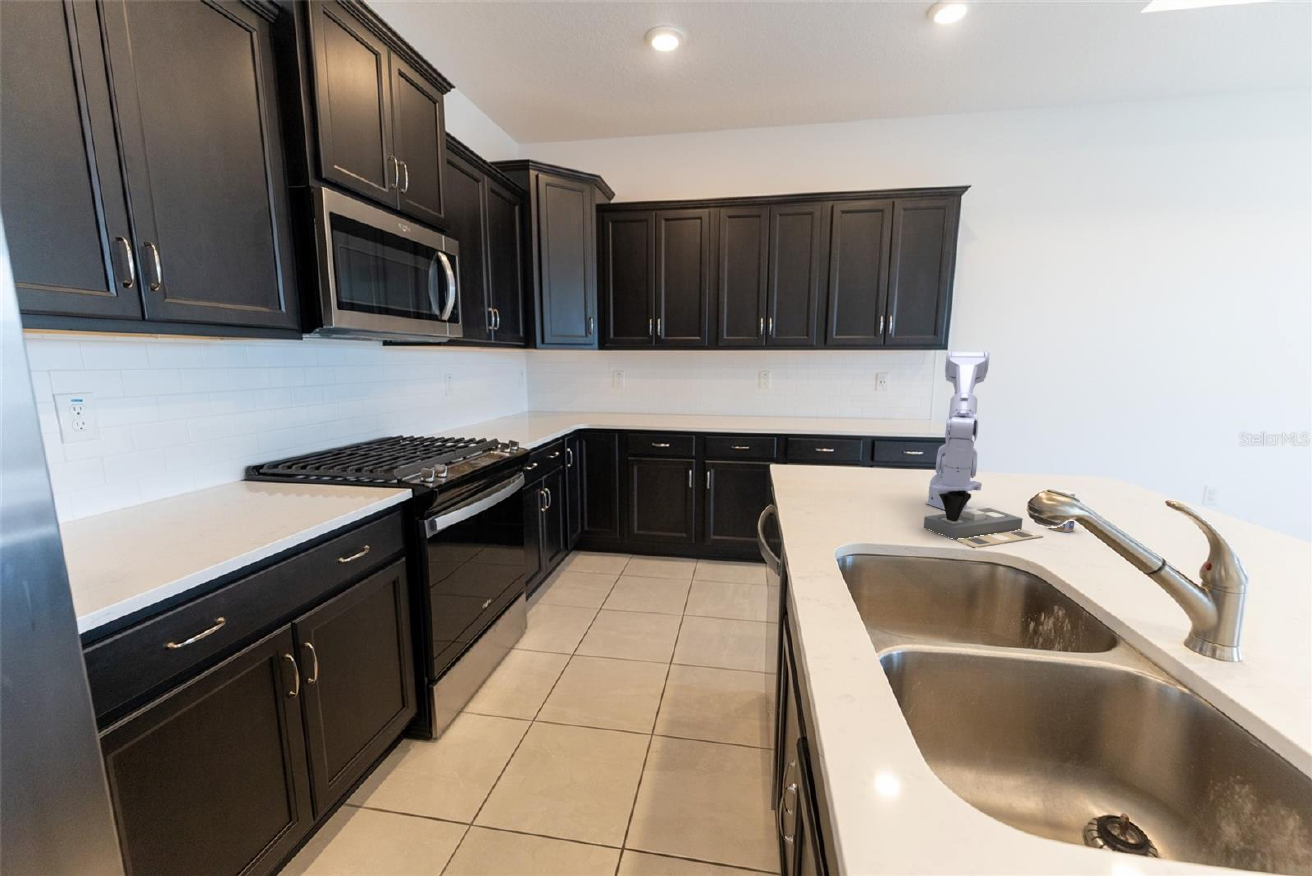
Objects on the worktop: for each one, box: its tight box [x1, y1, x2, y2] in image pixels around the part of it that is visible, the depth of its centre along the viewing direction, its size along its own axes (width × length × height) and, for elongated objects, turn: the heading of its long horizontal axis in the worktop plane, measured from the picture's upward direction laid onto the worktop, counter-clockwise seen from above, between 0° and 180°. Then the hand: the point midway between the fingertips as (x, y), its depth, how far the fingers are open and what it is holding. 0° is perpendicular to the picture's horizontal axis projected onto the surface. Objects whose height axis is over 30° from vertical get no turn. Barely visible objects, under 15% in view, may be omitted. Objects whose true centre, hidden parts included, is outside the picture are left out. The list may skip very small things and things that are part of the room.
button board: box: [923, 507, 1024, 540], centre depth 131 cm, size 9×22×3 cm, turn 109°
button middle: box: [962, 508, 986, 521], centre depth 131 cm, size 4×4×3 cm
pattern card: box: [956, 529, 1044, 548], centre depth 124 cm, size 5×22×1 cm, turn 109°
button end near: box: [941, 518, 964, 524], centre depth 129 cm, size 4×4×3 cm
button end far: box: [986, 512, 1006, 518], centre depth 133 cm, size 4×4×3 cm
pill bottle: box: [1050, 489, 1076, 533], centre depth 131 cm, size 5×5×10 cm
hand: (952, 520), depth 128 cm, fingers closed, pressing on button end near
